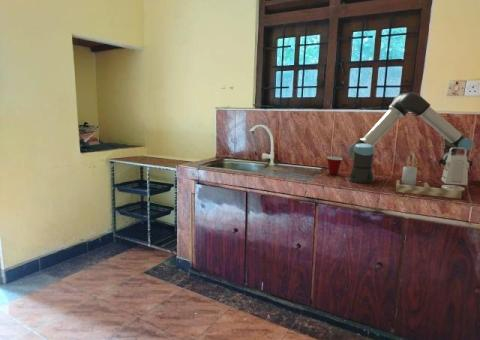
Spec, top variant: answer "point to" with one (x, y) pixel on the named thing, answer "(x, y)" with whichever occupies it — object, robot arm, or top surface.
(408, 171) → the utensil crock
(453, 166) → the grater
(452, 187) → the plate
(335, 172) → the plastic cup
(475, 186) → the top surface
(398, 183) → the rack
